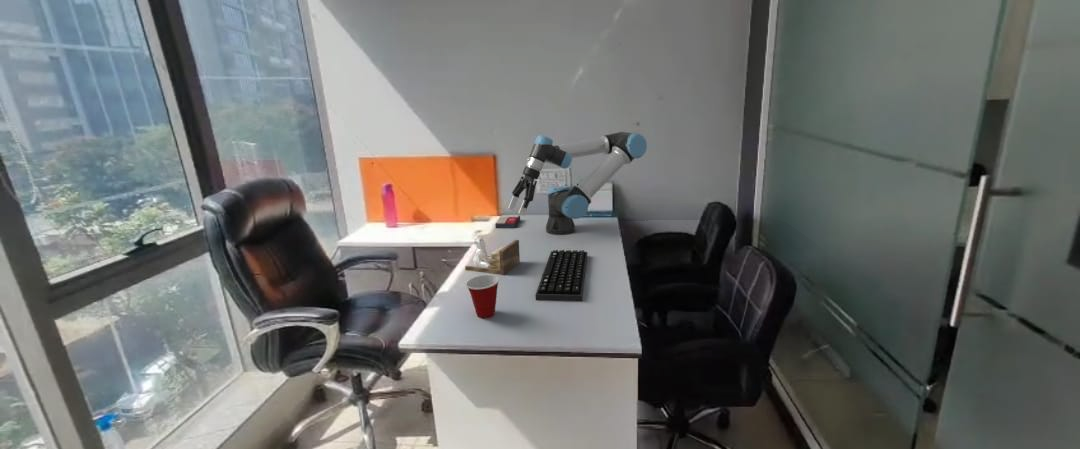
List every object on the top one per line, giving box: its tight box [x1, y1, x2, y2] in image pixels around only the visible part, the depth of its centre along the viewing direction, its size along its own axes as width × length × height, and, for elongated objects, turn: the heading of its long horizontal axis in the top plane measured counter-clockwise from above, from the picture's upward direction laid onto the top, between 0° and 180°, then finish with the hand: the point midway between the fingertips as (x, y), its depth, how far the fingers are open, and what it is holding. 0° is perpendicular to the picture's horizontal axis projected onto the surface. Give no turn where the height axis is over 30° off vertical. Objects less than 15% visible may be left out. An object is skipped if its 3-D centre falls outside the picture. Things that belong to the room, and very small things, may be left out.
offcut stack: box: [490, 246, 505, 270], centre depth 188 cm, size 5×10×7 cm, turn 158°
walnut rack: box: [464, 239, 521, 276], centre depth 189 cm, size 18×15×10 cm
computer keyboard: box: [535, 249, 588, 302], centre depth 177 cm, size 45×16×4 cm, turn 172°
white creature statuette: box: [472, 237, 492, 269], centre depth 190 cm, size 10×9×12 cm
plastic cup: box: [465, 274, 500, 319], centre depth 147 cm, size 11×11×12 cm
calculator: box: [495, 214, 521, 229], centre depth 251 cm, size 11×4×15 cm
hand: (515, 212), depth 209 cm, fingers open, 13 cm apart
